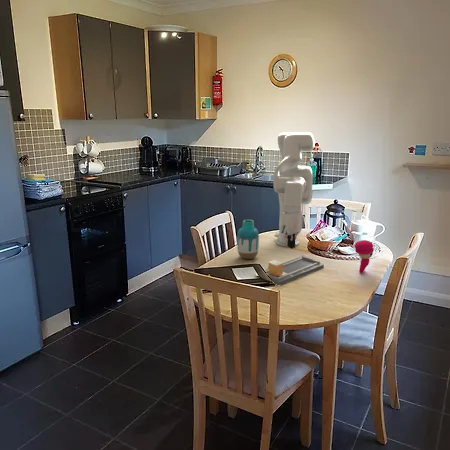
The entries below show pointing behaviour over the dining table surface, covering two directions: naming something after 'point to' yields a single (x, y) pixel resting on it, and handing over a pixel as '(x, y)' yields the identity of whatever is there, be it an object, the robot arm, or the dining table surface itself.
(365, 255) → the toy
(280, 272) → the orange cube
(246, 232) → the vase
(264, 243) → the dining table surface
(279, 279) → the grey rectangular tray
